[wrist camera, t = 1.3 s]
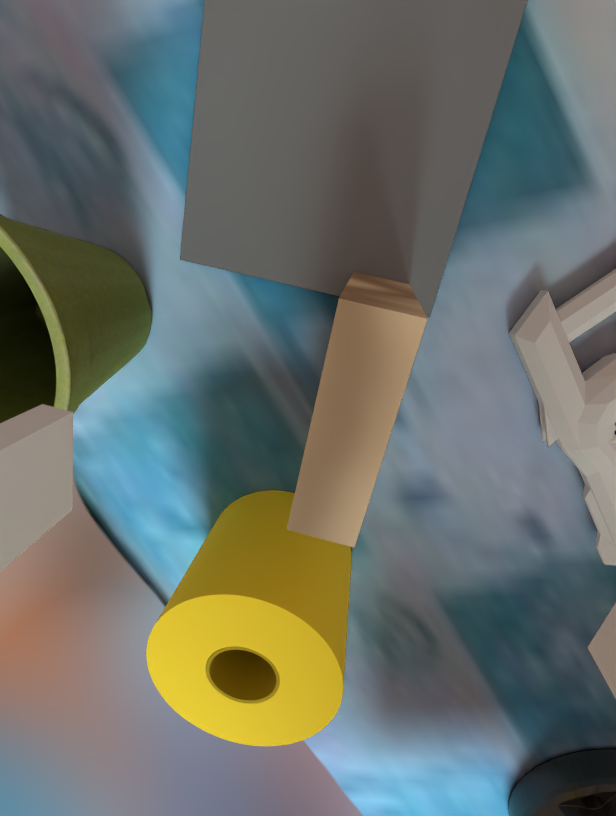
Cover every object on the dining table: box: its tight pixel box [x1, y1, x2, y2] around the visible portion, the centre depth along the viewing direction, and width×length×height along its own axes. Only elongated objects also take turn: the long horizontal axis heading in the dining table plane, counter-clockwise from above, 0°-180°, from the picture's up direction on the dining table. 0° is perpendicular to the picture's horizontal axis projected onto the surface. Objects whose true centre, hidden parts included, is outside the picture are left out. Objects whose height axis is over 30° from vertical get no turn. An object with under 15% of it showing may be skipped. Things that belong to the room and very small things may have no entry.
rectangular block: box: [287, 272, 427, 548], centre depth 20 cm, size 3×10×9 cm, turn 169°
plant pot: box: [0, 214, 152, 423], centre depth 20 cm, size 12×12×11 cm
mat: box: [180, 0, 527, 317], centre depth 21 cm, size 16×14×1 cm
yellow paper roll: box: [146, 490, 352, 746], centre depth 25 cm, size 10×10×9 cm
